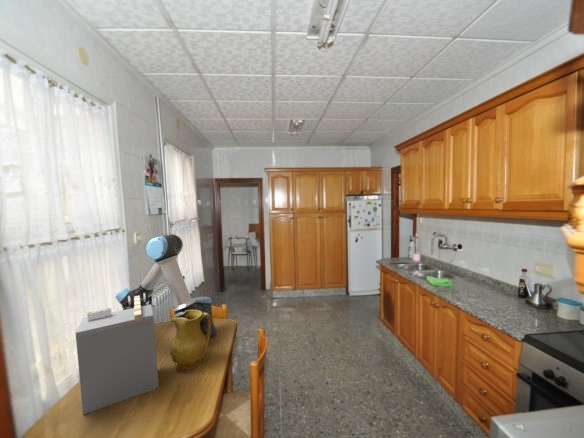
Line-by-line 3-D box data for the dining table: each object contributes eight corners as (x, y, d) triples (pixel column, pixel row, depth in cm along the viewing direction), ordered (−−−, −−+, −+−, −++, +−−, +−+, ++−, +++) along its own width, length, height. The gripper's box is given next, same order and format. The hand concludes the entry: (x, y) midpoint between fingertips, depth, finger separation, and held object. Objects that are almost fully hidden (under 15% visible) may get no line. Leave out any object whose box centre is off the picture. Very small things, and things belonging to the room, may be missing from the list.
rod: (134, 301, 132) (134, 296, 132) (140, 300, 134) (139, 295, 133) (134, 321, 107) (134, 315, 106) (141, 320, 108) (141, 314, 108)
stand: (89, 390, 114) (82, 318, 113) (156, 369, 128) (151, 304, 126) (83, 414, 101) (75, 332, 99) (158, 387, 114) (153, 315, 113)
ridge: (88, 319, 112) (88, 312, 112) (111, 314, 116) (110, 307, 116) (87, 321, 110) (87, 314, 110) (111, 316, 114) (110, 309, 114)
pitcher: (179, 353, 140) (177, 307, 139) (214, 352, 141) (213, 307, 139) (163, 374, 123) (161, 322, 121) (203, 374, 124) (202, 322, 122)
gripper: (157, 310, 147) (159, 300, 130) (118, 319, 138) (113, 309, 120) (156, 297, 150) (157, 285, 133) (117, 305, 141) (113, 293, 123)
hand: (136, 297), depth 126 cm, fingers open, 6 cm apart
